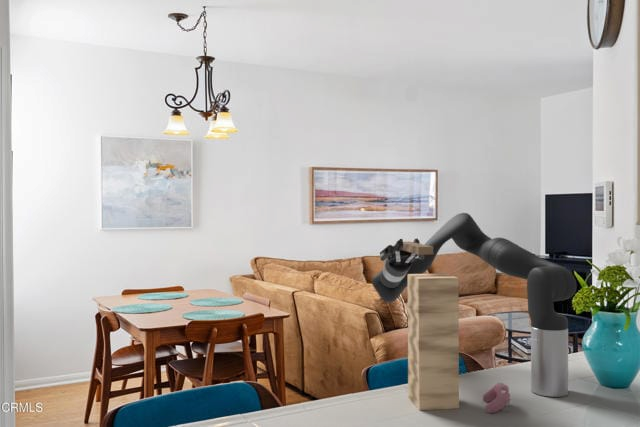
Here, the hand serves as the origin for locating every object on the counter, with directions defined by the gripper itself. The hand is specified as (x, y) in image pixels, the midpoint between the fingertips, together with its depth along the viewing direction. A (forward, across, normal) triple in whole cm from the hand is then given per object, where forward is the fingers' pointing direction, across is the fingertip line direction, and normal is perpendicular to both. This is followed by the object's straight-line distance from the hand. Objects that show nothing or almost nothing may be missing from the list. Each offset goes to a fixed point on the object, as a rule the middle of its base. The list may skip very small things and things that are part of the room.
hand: (409, 241), depth 173 cm
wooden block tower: (-1, 0, +45) cm, 45 cm away
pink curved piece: (+3, +14, +48) cm, 50 cm away
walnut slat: (+3, 0, +4) cm, 5 cm away
